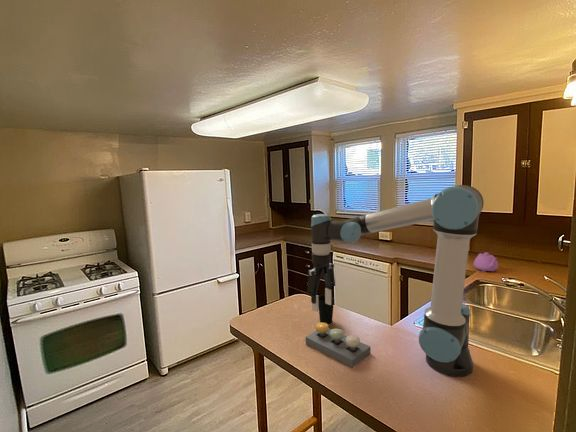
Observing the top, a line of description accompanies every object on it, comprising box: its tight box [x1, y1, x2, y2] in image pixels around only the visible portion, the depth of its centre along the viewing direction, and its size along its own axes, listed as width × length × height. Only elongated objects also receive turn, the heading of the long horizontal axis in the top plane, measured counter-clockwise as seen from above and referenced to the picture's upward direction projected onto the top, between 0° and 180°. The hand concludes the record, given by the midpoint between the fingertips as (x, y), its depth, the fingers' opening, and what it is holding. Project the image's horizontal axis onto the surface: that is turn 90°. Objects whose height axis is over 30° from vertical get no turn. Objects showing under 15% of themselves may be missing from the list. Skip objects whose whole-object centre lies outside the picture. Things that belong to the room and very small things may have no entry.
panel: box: [305, 328, 372, 368], centre depth 123 cm, size 23×12×3 cm, turn 44°
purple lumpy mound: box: [473, 251, 499, 273], centre depth 210 cm, size 20×14×12 cm
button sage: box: [330, 328, 344, 344], centre depth 122 cm, size 5×5×4 cm
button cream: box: [346, 334, 361, 351], centre depth 117 cm, size 5×5×4 cm
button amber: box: [315, 322, 330, 337], centre depth 128 cm, size 5×5×4 cm
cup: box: [318, 294, 335, 325], centre depth 144 cm, size 8×8×12 cm
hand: (321, 307), depth 126 cm, fingers open, 8 cm apart
